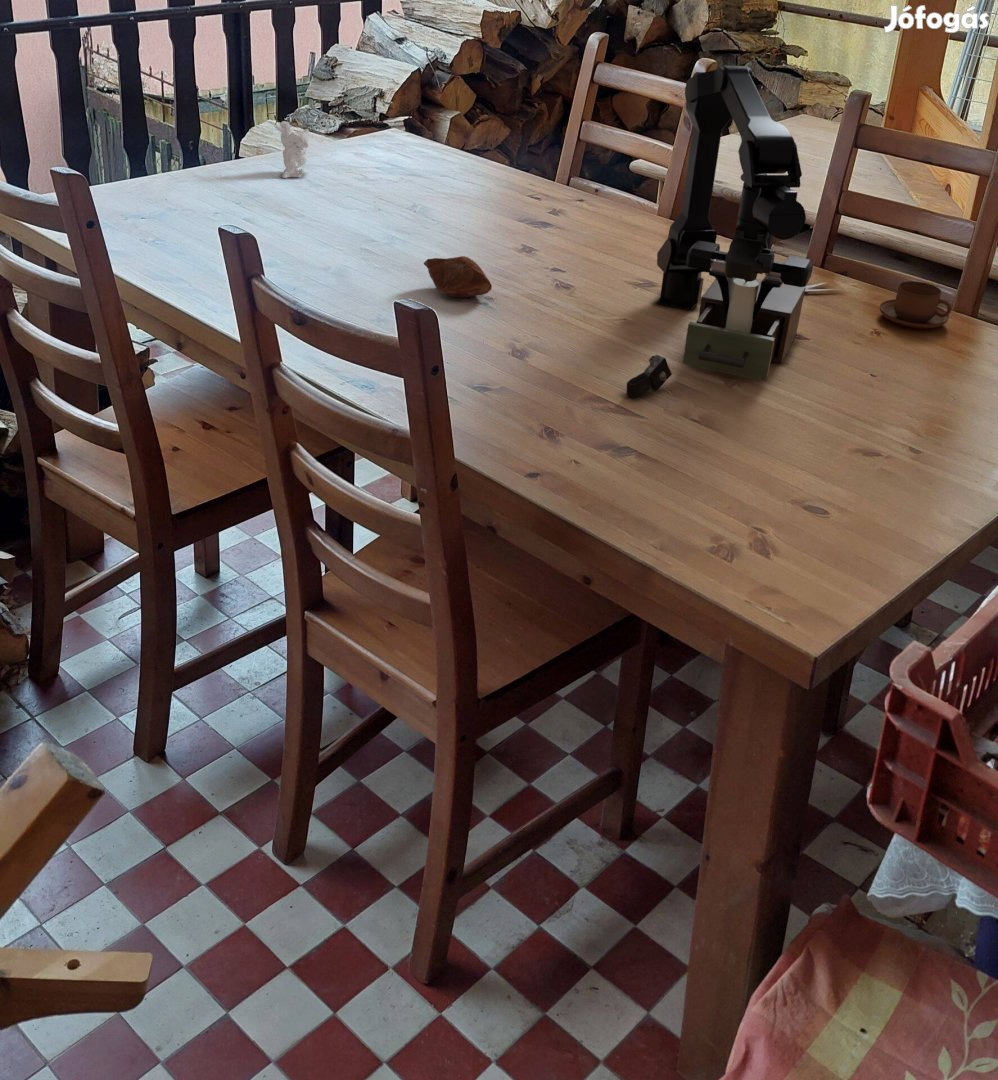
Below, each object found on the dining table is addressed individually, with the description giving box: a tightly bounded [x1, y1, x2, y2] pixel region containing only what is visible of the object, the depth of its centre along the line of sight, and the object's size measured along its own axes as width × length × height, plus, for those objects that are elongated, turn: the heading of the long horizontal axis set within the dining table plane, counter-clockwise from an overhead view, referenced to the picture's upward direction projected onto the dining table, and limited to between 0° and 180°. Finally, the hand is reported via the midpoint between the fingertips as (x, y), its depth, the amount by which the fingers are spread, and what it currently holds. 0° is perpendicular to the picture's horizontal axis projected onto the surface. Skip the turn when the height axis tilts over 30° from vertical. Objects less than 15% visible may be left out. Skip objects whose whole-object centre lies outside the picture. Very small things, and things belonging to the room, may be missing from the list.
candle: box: [725, 278, 759, 333], centre depth 186 cm, size 4×4×9 cm
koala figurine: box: [274, 120, 310, 179], centre depth 267 cm, size 8×7×12 cm
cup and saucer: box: [879, 280, 952, 330], centre depth 210 cm, size 12×12×6 cm
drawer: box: [682, 303, 783, 382], centre depth 187 cm, size 17×13×7 cm
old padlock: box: [626, 354, 673, 399], centre depth 179 cm, size 8×2×5 cm
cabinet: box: [698, 278, 806, 364], centre depth 197 cm, size 14×15×9 cm
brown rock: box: [423, 255, 493, 299], centre depth 208 cm, size 13×8×10 cm
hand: (740, 315), depth 187 cm, fingers closed on candle, 4 cm apart
